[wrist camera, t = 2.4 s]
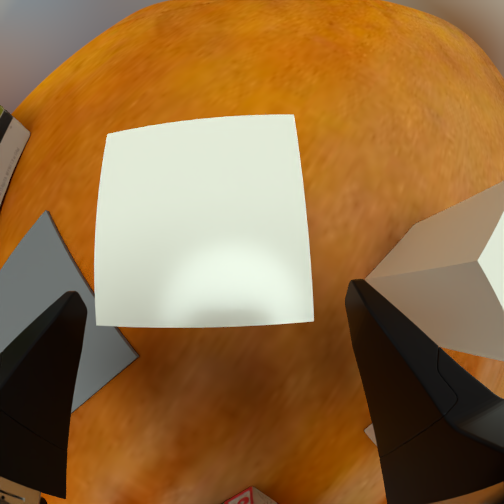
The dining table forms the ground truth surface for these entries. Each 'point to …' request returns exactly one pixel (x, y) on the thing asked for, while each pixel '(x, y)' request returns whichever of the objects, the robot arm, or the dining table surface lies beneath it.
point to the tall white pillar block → (452, 275)
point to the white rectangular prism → (203, 226)
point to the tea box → (10, 146)
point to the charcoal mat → (46, 293)
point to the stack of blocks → (250, 497)
